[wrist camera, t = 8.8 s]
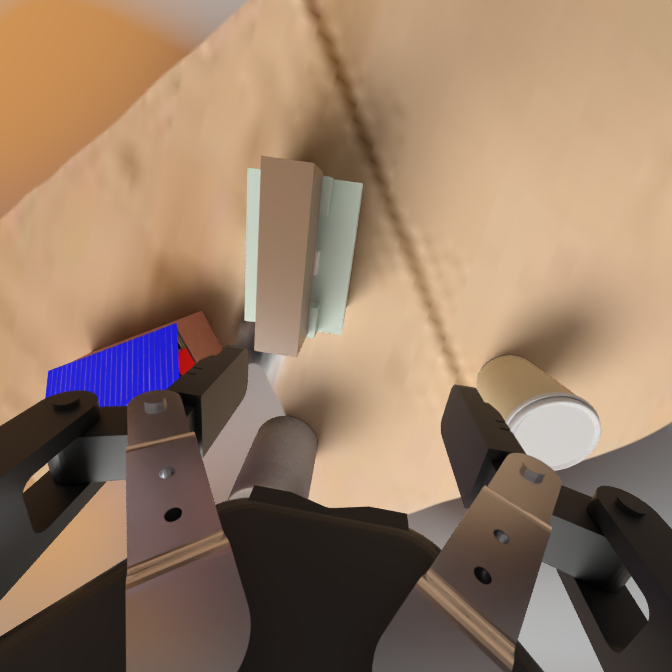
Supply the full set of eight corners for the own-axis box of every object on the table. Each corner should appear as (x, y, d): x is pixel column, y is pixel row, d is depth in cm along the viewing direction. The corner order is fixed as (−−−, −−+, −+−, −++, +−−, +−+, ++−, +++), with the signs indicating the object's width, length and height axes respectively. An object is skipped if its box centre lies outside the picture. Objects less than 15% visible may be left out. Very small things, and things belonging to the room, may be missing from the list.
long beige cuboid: (323, 172, 25) (314, 163, 21) (306, 334, 30) (296, 357, 26) (279, 166, 25) (261, 155, 21) (270, 329, 30) (254, 350, 26)
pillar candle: (256, 459, 52) (219, 550, 38) (258, 410, 48) (218, 490, 35) (315, 468, 52) (299, 562, 38) (321, 419, 48) (307, 504, 34)
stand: (362, 190, 36) (362, 181, 25) (346, 307, 42) (339, 342, 30) (276, 179, 37) (239, 164, 25) (270, 296, 42) (237, 327, 31)
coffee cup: (479, 417, 46) (517, 482, 35) (461, 362, 43) (496, 415, 32) (547, 397, 44) (611, 460, 33) (533, 339, 41) (597, 385, 30)
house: (89, 350, 47) (8, 391, 36) (203, 307, 43) (150, 338, 32) (133, 415, 51) (72, 469, 40) (242, 380, 47) (206, 430, 36)
